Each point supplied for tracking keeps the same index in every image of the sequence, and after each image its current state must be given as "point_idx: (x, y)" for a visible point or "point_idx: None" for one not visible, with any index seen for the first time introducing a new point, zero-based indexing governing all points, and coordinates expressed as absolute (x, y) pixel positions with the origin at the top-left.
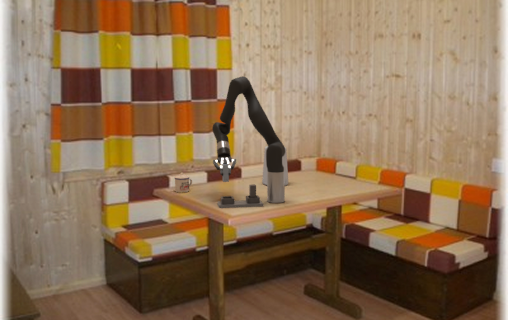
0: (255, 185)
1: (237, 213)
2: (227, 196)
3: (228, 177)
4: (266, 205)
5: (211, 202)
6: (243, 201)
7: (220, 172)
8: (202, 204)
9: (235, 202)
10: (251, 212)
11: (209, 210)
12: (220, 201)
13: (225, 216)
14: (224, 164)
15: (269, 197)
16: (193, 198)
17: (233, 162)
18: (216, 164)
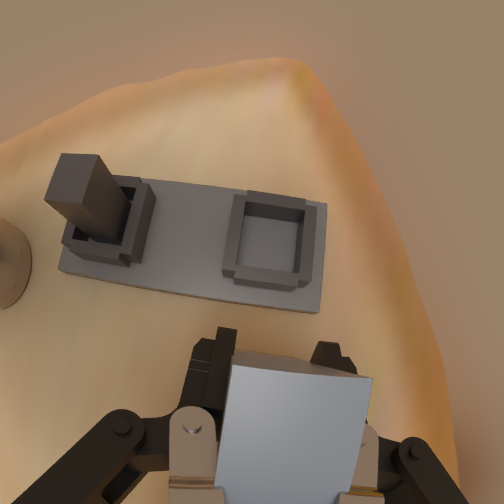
0: (62, 159)
1: (257, 97)
2: (262, 272)
3: (234, 351)
4: None
5: None
6: (158, 256)
7: None
8: (395, 324)
9: (215, 244)
10: (192, 96)
11: (374, 182)
12: (301, 301)
13: (315, 78)
14: (308, 469)
15: (16, 243)
16: None
17: (68, 500)
18: (444, 493)
